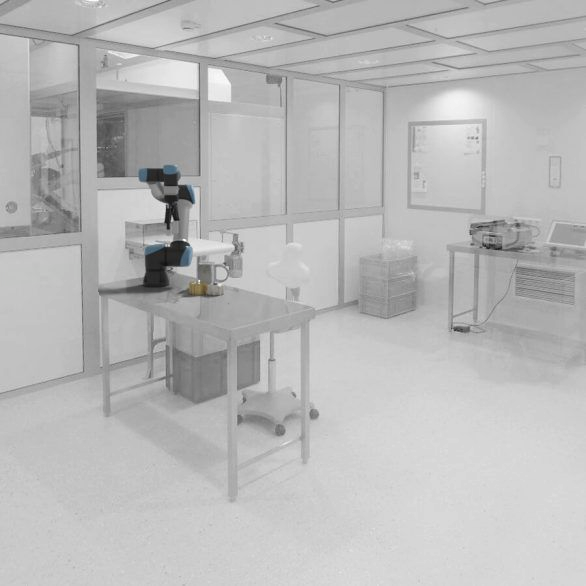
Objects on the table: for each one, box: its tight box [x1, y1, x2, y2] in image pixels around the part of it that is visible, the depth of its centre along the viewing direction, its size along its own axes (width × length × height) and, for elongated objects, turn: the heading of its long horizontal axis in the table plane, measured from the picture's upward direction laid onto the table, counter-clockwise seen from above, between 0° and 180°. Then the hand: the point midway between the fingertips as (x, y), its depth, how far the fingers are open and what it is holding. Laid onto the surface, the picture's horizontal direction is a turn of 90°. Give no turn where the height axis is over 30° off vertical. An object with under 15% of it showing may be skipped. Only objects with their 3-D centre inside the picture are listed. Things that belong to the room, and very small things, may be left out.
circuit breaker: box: [197, 261, 217, 286], centre depth 368 cm, size 8×14×15 cm, turn 174°
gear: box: [206, 282, 225, 296], centre depth 349 cm, size 9×9×6 cm
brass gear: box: [188, 280, 207, 296], centre depth 350 cm, size 9×9×6 cm
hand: (172, 234), depth 353 cm, fingers open, 13 cm apart
